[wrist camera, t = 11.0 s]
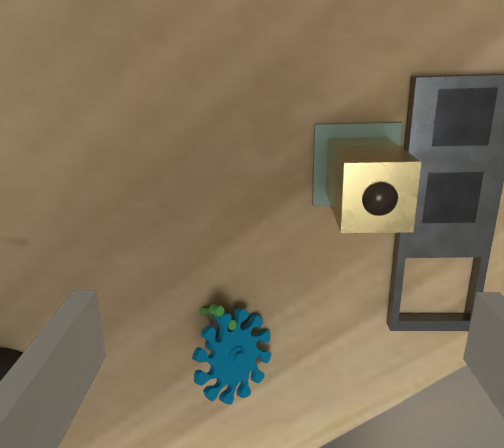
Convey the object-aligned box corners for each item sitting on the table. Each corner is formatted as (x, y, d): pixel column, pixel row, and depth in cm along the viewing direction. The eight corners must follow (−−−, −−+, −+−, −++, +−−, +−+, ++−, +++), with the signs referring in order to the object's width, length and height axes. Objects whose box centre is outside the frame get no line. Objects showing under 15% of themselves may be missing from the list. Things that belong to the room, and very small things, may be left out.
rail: (386, 322, 48) (390, 331, 47) (411, 76, 39) (416, 77, 38) (469, 322, 48) (475, 331, 47) (514, 73, 39) (524, 74, 37)
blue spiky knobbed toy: (283, 375, 50) (213, 426, 44) (250, 361, 54) (183, 405, 48) (262, 286, 47) (185, 327, 41) (229, 279, 52) (156, 315, 46)
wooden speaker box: (326, 193, 43) (341, 234, 33) (327, 137, 41) (344, 163, 31) (382, 193, 43) (414, 233, 33) (387, 136, 41) (422, 162, 31)
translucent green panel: (312, 204, 44) (313, 206, 43) (314, 124, 41) (315, 124, 41) (393, 203, 43) (394, 205, 43) (401, 122, 40) (402, 122, 40)
